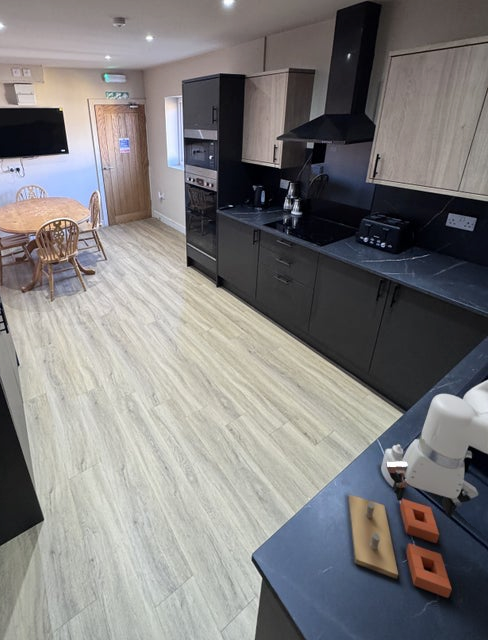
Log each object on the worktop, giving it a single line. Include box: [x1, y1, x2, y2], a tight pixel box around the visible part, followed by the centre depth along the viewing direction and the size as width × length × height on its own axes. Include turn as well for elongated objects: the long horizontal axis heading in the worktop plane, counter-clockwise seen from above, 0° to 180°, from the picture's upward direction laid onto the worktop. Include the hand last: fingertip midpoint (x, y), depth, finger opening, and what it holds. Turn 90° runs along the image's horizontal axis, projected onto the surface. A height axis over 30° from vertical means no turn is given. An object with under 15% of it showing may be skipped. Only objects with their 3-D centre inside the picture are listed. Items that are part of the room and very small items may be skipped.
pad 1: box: [399, 498, 440, 544], centre depth 77 cm, size 6×6×3 cm
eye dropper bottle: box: [380, 443, 404, 488], centre depth 85 cm, size 4×6×12 cm
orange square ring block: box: [405, 543, 452, 599], centre depth 68 cm, size 6×6×3 cm
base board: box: [347, 493, 399, 579], centre depth 75 cm, size 8×14×5 cm, turn 160°
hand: (421, 502), depth 75 cm, fingers open, 9 cm apart
